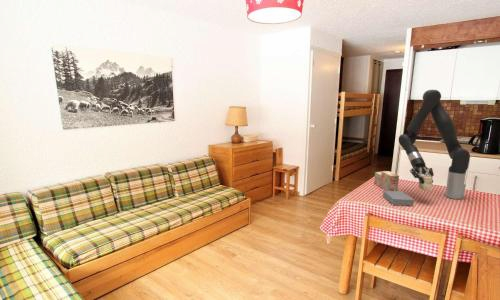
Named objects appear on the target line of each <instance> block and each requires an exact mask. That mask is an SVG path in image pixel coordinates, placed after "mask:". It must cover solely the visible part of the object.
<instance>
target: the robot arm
mask: <svg viewBox="0 0 500 300" xmlns="http://www.w3.org/2000/svg"><path fill="white" fill-rule="evenodd" d="M441 98H442V94H441V92H440V91H439V90H437V89H428V90H426V91H424V93H423V95H422V100H423V102H422V103H421V105H420V108H419V109H418V111H417V112H416V114H415V115H414V116H413V118H412V119H411V120H410V123H409V124H408V126H407V127H406V130H407V132H408V134H405V133H404V134H403V133H402V134H400V135H399V136H398V143H399V145H400V146H401V147H402V149H403V150H404V151H405V153H406V155H407V158H408V160H409V162H410V165H411V166H412V168H410V170H409V172H410V174H411V175H412V176H413V177H414V179H418V182H419V181H420V183H421V184H424V180H423V178H422V175H428V176H430V177H434V176H435V175H434V174H435V173H434V169H433V168H432V167H430V168H429V167H427V166H426V162H425V160H424V158H423V156H422V154H421V153H420V151H419V149H418V148H417V145H415V143H416V140H417V137H418V133H419V131H420V129H421V128H422V126H423V124H424V122H425V120H426V119H427V118H428V116H429V114H431V116H432V120H433V122H434V124H435V127H436V130H437V131H438V133H439V136H440V137H441V139H442V141H443V142H444V144H445V147H446V149H447V153H448V157H449V158H450V159H451V165H450V166H449V167H448V171H447V179H446V180H447V181H446V187H445V193H444V195H445V197H447V198H450V199H453V200H463V199H465V194H466V193H465V191H466V184H465V181H466V175H467V170H468V169H469V164H470V158H471V155H470V152H469V151H468V150H467V149H465V148H463V147H462V145H461V143H460V142H459V140H458V136H457V130H456V126H455V124H454V121H453V119H452V118H451V116H450V115H449V114H448V112H447V111H446V110H445V108H444V107H443V105H442V103H441ZM433 179H434V178H433ZM433 179H432V184H433V183H434V180H433Z"/></svg>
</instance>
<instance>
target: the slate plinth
mask: <svg viewBox="0 0 500 300" xmlns="http://www.w3.org/2000/svg"><path fill="white" fill-rule="evenodd" d="M382 192H383V193H382V198H384V199H385V198H386V199H387V200H388V201H389V202H388V201H387V200H386V199H385V200H386V201H387V202H388V203H390V202H391V203H392V204H393V205H392V204H391V203H390V204H391V205H392V206H397V205H411V206H410V207H414V201H415V200H414V198H412V197H411V196H409V195H408V194H407V193H405V192H404V191H403V190H401V191H399V190H397V191H386V190H383V191H382Z"/></svg>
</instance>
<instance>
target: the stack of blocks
mask: <svg viewBox="0 0 500 300" xmlns="http://www.w3.org/2000/svg"><path fill="white" fill-rule="evenodd" d="M399 180H400V176H399V175H398V174H397V173H395V172H392V171H387V170H384V171H383V170H382V171H375V172H374V184H375V185H376V186H378V187H380V188H381V189H382V190H384V189H385V190H384V191H399V190H398V189H399Z"/></svg>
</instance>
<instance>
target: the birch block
mask: <svg viewBox="0 0 500 300" xmlns="http://www.w3.org/2000/svg"><path fill="white" fill-rule="evenodd" d="M421 175H422V178H423V180H424V184H421V183H420V181H419V180H418V184H417V185H418V187H417V189H421V190H423V191H432V189H433V188H432V187H433V183H432V179H434V178H433V177H434V176H433V177H430V176H428V175H424V174H421Z"/></svg>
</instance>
